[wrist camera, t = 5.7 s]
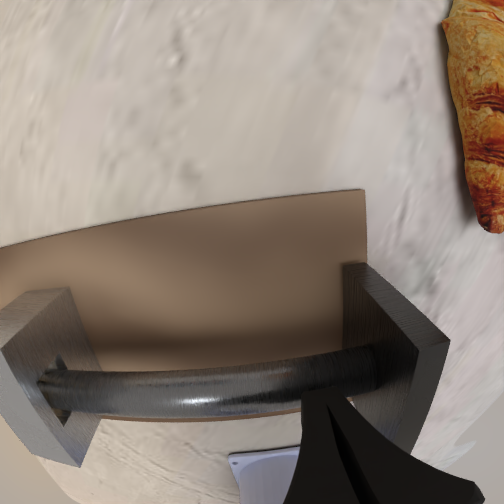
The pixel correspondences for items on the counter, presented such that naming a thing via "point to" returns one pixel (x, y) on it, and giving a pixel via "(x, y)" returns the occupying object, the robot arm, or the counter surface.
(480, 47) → the croissant
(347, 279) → the shaft
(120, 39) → the counter surface
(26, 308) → the bearing block
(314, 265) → the board
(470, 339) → the counter surface
